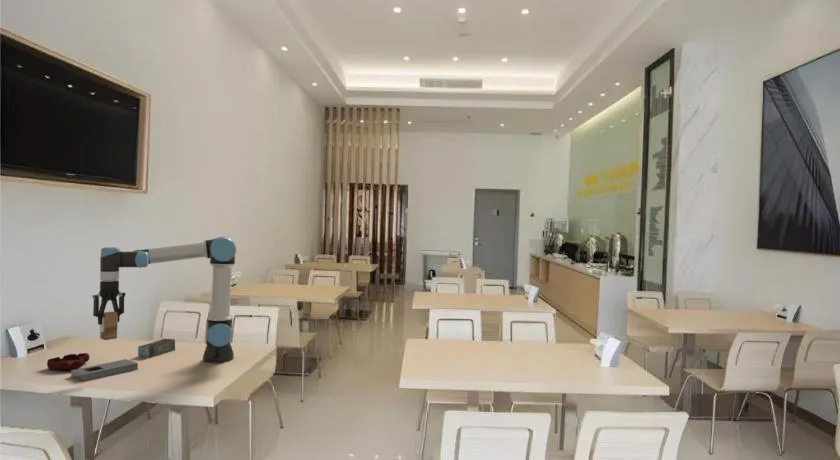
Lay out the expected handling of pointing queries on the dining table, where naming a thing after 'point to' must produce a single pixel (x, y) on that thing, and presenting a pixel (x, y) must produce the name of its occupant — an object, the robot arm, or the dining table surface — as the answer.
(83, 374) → the steel rail
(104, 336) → the walnut block
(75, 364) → the dark red curved piece
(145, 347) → the beverage carton
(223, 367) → the dining table surface
